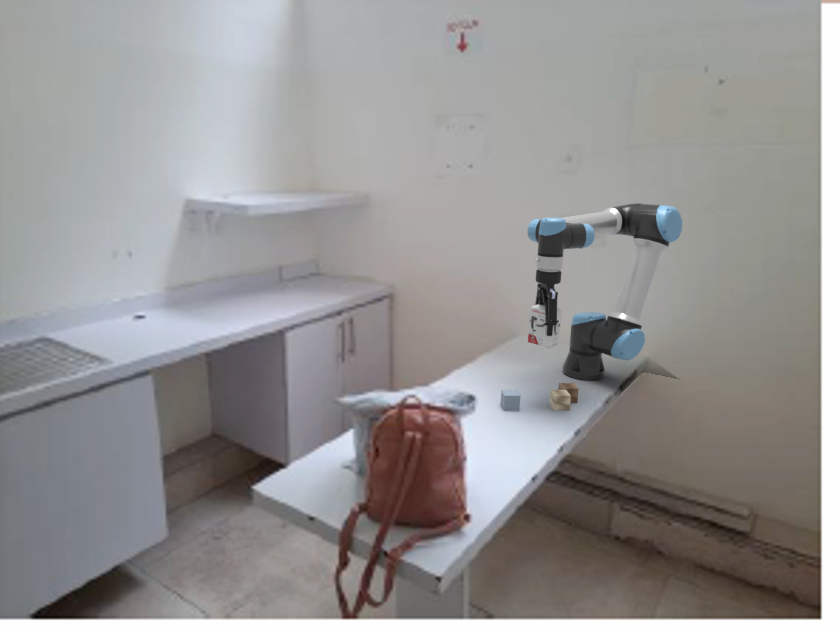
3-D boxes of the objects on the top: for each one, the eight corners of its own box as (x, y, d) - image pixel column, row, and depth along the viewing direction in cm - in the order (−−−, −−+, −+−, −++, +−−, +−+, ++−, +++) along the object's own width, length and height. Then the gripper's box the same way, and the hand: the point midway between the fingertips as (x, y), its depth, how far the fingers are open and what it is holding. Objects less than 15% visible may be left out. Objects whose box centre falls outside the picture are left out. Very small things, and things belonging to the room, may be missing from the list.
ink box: (526, 342, 182) (529, 305, 179) (535, 339, 185) (538, 303, 182) (550, 348, 176) (553, 311, 173) (559, 345, 179) (562, 308, 176)
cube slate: (515, 404, 186) (516, 389, 184) (519, 410, 181) (520, 395, 180) (500, 404, 185) (501, 389, 184) (503, 410, 180) (504, 395, 179)
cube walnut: (572, 397, 193) (573, 383, 192) (577, 403, 188) (578, 388, 187) (557, 397, 192) (558, 382, 191) (562, 403, 188) (563, 388, 186)
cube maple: (564, 404, 187) (565, 389, 185) (569, 410, 182) (570, 395, 181) (549, 404, 186) (550, 389, 185) (553, 410, 182) (555, 395, 180)
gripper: (527, 263, 185) (522, 330, 191) (546, 276, 164) (540, 351, 169) (550, 263, 186) (545, 330, 191) (572, 276, 164) (565, 351, 170)
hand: (543, 340), depth 180 cm, fingers closed on ink box, 9 cm apart
